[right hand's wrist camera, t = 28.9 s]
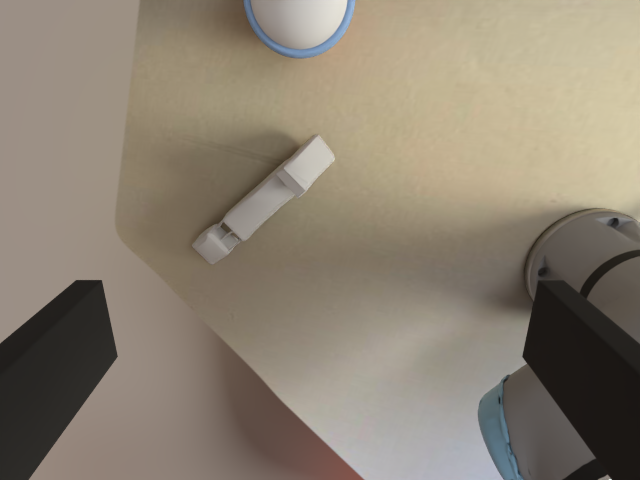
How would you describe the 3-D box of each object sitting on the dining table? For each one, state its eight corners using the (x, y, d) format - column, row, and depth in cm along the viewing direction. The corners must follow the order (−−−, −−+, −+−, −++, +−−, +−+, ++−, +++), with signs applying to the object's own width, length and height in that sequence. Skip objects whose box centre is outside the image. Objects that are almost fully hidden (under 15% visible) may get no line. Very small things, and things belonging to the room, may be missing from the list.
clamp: (316, 129, 47) (310, 141, 41) (338, 154, 48) (335, 170, 42) (199, 232, 54) (179, 256, 48) (220, 253, 55) (203, 279, 49)
